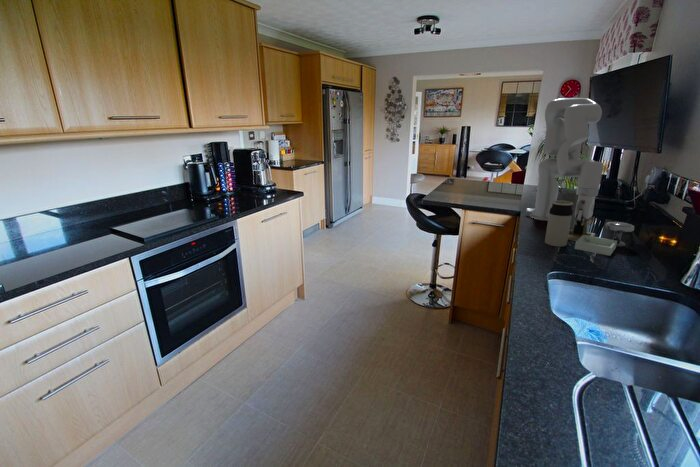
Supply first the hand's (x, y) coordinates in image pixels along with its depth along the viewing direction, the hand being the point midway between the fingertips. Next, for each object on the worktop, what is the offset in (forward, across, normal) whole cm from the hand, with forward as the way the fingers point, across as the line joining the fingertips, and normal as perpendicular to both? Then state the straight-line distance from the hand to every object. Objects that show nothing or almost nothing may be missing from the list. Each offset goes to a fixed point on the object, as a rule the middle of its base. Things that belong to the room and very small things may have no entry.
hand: (579, 232), depth 144 cm
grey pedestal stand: (+3, +1, -13) cm, 13 cm away
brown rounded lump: (+3, 0, 0) cm, 3 cm away
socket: (+3, 0, 0) cm, 3 cm away
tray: (+3, -10, -8) cm, 13 cm away
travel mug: (+3, -14, +5) cm, 15 cm away
